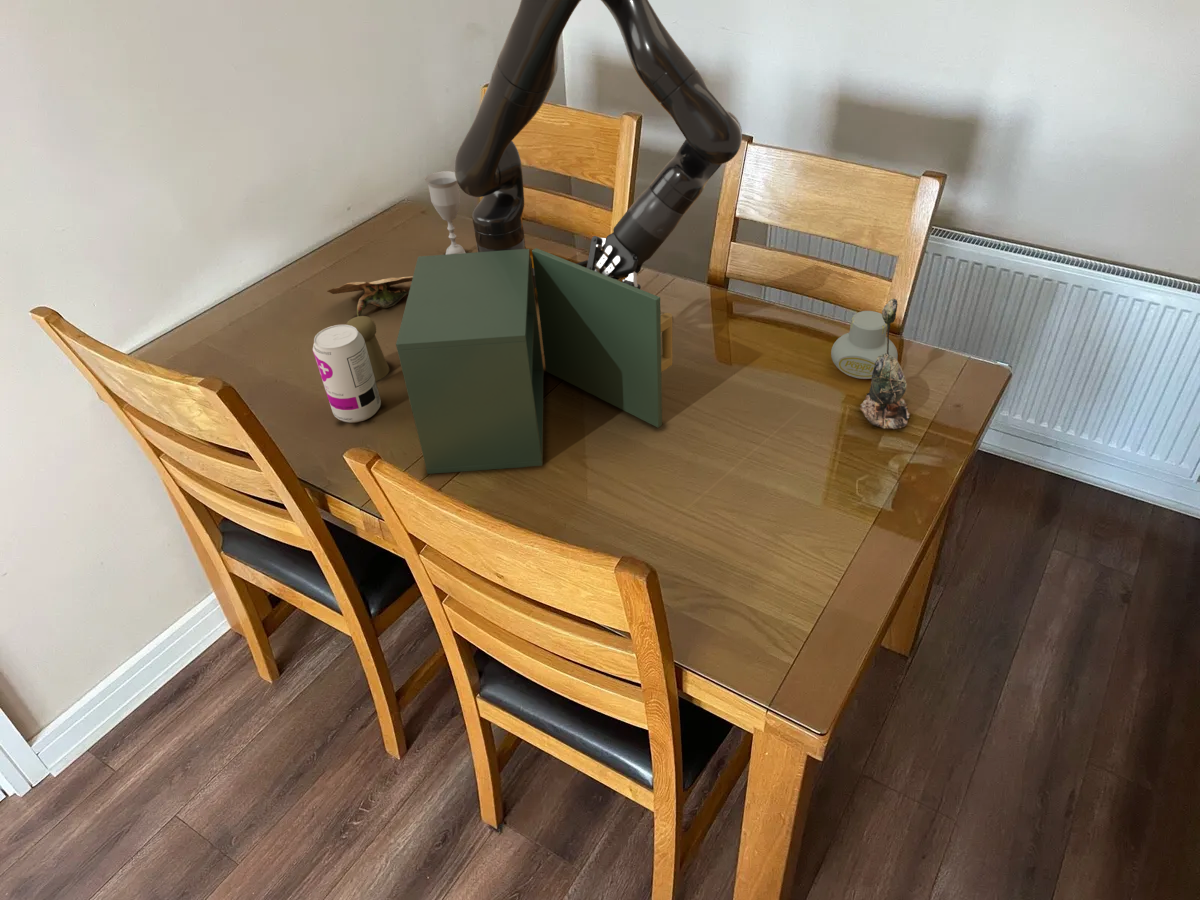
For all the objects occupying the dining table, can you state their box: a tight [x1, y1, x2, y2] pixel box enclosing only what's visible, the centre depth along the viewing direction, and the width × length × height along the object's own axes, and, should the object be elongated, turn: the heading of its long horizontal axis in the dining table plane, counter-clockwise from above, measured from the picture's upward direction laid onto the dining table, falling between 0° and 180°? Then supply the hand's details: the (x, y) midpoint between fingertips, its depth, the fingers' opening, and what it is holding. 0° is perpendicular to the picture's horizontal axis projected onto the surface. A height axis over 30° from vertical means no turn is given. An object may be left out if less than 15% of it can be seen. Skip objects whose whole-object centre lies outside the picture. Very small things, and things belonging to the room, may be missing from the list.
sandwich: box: [326, 275, 413, 317], centre depth 176 cm, size 18×14×8 cm
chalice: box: [424, 170, 467, 255], centre depth 186 cm, size 7×7×18 cm
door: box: [531, 247, 673, 428], centre depth 142 cm, size 6×26×24 cm, turn 47°
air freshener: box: [830, 310, 899, 380], centre depth 148 cm, size 11×8×10 cm
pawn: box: [345, 315, 390, 382], centre depth 155 cm, size 6×6×11 cm
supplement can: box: [312, 324, 382, 423], centre depth 145 cm, size 8×8×15 cm
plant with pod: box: [859, 298, 911, 430], centre depth 134 cm, size 8×11×20 cm
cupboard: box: [395, 248, 545, 475], centre depth 138 cm, size 18×26×24 cm
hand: (583, 302), depth 145 cm, fingers closed
